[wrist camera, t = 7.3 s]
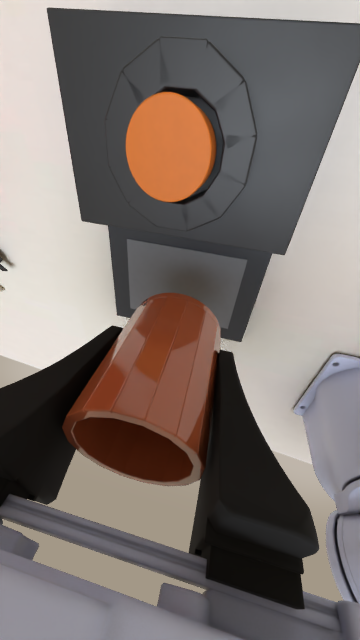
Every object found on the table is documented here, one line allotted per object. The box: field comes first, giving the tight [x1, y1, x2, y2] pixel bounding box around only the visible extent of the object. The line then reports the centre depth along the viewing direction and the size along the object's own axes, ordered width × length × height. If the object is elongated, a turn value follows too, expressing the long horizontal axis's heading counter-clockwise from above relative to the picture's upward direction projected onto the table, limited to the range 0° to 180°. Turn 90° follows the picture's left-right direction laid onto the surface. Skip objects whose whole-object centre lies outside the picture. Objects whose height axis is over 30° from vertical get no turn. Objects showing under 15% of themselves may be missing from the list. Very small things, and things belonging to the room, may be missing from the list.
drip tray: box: [108, 226, 272, 342], centre depth 19 cm, size 9×12×1 cm
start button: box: [126, 92, 216, 202], centre depth 9 cm, size 3×3×2 cm
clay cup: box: [62, 293, 221, 486], centre depth 11 cm, size 5×5×7 cm
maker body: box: [47, 8, 360, 255], centre depth 12 cm, size 8×12×6 cm, turn 85°
